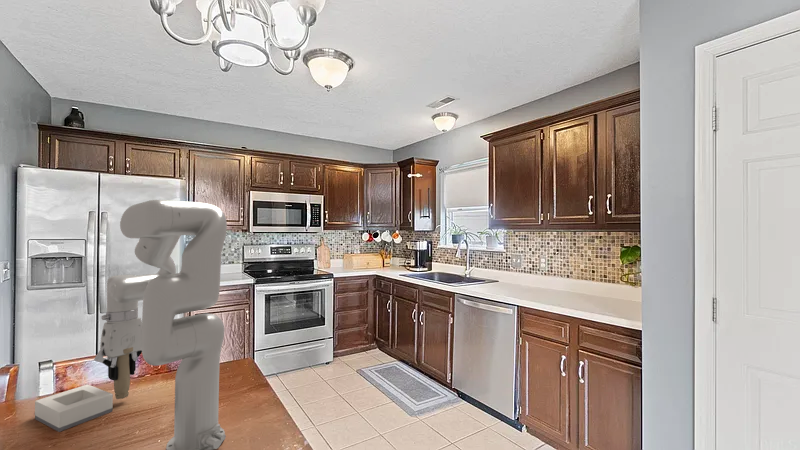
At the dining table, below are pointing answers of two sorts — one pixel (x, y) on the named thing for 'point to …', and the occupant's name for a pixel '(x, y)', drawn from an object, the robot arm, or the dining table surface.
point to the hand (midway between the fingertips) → (122, 376)
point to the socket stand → (73, 407)
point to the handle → (123, 375)
